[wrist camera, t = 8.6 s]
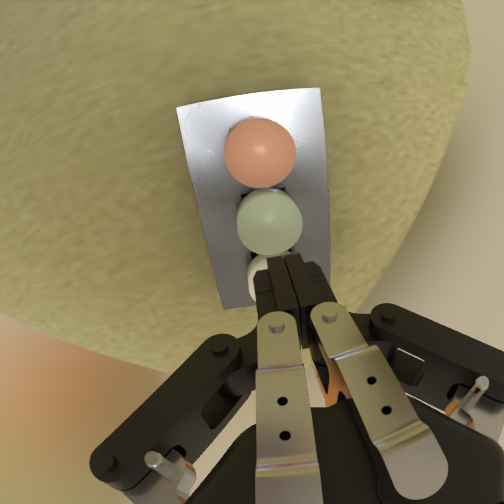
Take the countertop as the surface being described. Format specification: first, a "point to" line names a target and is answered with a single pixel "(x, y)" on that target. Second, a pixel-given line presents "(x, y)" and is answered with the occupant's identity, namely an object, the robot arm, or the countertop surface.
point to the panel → (229, 189)
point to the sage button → (268, 221)
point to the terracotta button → (259, 152)
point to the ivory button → (256, 265)
